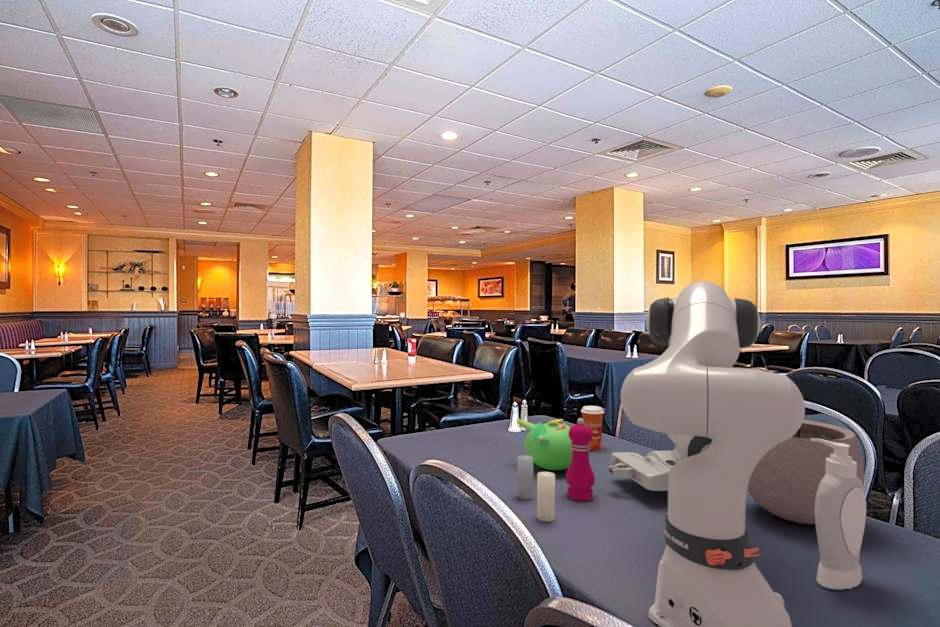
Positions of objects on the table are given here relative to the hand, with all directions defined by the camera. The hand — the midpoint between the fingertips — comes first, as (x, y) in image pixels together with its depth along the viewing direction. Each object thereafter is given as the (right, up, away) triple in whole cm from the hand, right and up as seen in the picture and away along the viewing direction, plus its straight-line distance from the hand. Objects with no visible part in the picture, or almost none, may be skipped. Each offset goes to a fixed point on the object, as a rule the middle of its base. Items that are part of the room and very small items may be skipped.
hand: (610, 471), depth 128 cm
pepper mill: (-8, -6, -1) cm, 10 cm away
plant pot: (+39, -6, -14) cm, 42 cm away
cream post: (-19, -6, -15) cm, 25 cm away
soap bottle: (+28, -7, -39) cm, 49 cm away
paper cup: (+5, -6, +41) cm, 42 cm away
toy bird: (-12, -6, +20) cm, 24 cm away
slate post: (-22, -6, -2) cm, 23 cm away
